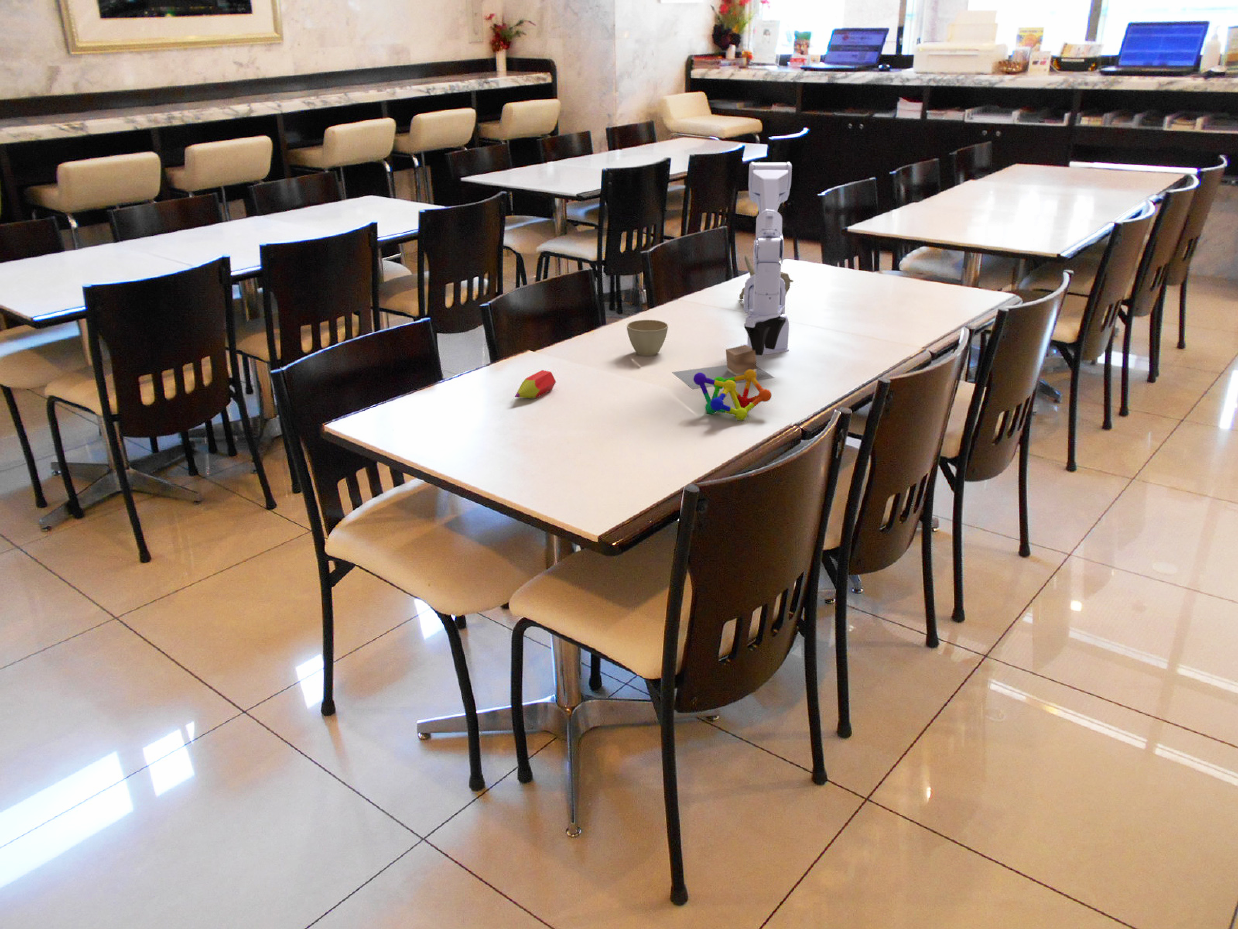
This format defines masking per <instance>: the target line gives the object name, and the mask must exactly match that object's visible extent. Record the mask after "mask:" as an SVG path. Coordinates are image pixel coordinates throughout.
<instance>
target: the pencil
mask: <svg viewBox="0 0 1238 929" xmlns="http://www.w3.org/2000/svg"><path fill="white" fill-rule="evenodd" d="M556 383H557V381H556V379H555V377H554V375H553V372H552V371H548V370H543V369H541V370H540V371H537V372H535V373H533V374H531V375H529V376H527V377H526V378H524V380H523V381H522V382H521V384H520V386H519V388H518V390H517V392H516V393H515V396H514V398H520V399H521V398H522V399H537V398H539V397H541V396H543V395H545V394H546V393H548V392H550V391H552V390H553V389H554V387H555V385H556Z"/></svg>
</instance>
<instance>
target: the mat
mask: <svg viewBox="0 0 1238 929" xmlns="http://www.w3.org/2000/svg"><path fill="white" fill-rule="evenodd" d="M756 367H757V371H756V375H757V377H756V380H757V381H761V380H768V379H775V377H774V376H773V375H772V374H770V373H768V372H766V370H764V369H762V368H761V367H759V366H758V365H756ZM699 372H700V373H703V374H705V376H706V378H710V379H715V378H716V377H722V378H724V379H728V378H732V377H736V375H734V374H733V373H731V372H730V371H728V369H727V364H724V365H717V366H709V367H702V368H693V369H687V370H678V371H672V374H673V375H674V376H676V377H677V378H678V379H680V380H681V382H683V383H684V384H686V385H687V386H688V387H689V388H691V389H692V390H697V389H701V387H700V385H697V384H695V382H694V376H695V374H697V373H699ZM743 375H744V374H743ZM739 376H740V375H739ZM735 383H736V384H739V383H746V380H741V381H736V382H735ZM705 386H706V388H711V387H714V386H713V385H712V384H708V383H705Z"/></svg>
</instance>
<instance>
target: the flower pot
mask: <svg viewBox="0 0 1238 929" xmlns="http://www.w3.org/2000/svg"><path fill="white" fill-rule="evenodd" d="M668 328H669V324H668V323H666V322H665V321H661V320H658V319H657V320H656V319H639V320H638V319H637V320H634V321H633V320H632V321H630V322H628V323H627V324H626V331H627V334H628V338H629V342H630V344H631V347H633V350H634V351H635V353H636V354H637V355H638V356H641V357H642V356H644V357H646V356H647V357H648V356H649V357H650V356H651V357H652V356H655V355H657V354H658V353H659V352H660V351H661V349H662V347H663V345H664V342H665V340H666V337H667V334H668V330H669V329H668Z"/></svg>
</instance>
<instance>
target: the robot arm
mask: <svg viewBox="0 0 1238 929" xmlns="http://www.w3.org/2000/svg"><path fill="white" fill-rule="evenodd" d="M748 165H749V168H748V196H749V200H750V201H752V202H753V203H755V204H756V206H757V210H758V215H757V217H756V219H755V220H756V221H755V223H756V224H755V239H754V240H753V251H752V252H753V254H752V260H753V269H754V272H755V274H754V275H752V276H751V277H748V278H747V279H746V281H745V283H744V287H745V289H744V296H743V312H744V313H747V315H748V316H747V317H745V323H744V324H743V325H744V326H743V327H744V329H745V331H746V333H747V340H746V341H747V343H745V344H740V346H743V345H747V346H749V347H750V348H752V350H755V354H756V356H762V355H769V354H777V353H784V352H790V348H788V344H789V331H790V322H789V318H788V315H787V314H786V296H785V282H784V280H783V279H782V278H780V275H781V272H782V265H783V261H784V257H785V241H784V240H785V239H784V235H783V216H782V214H781V213H780V212H778V211H779V210H778V209H779V207H780V205H781V204H782V203H784V202H786V201H787V200H788V198H789V196H790V191H791V190H790V189H791V186H792V173H793V172H792V171H793V170H792V169H793V165H792V163H791V162H790V161H786V162H755V161H751V162H750V163H749V164H748ZM780 260H781V263H780Z"/></svg>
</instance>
